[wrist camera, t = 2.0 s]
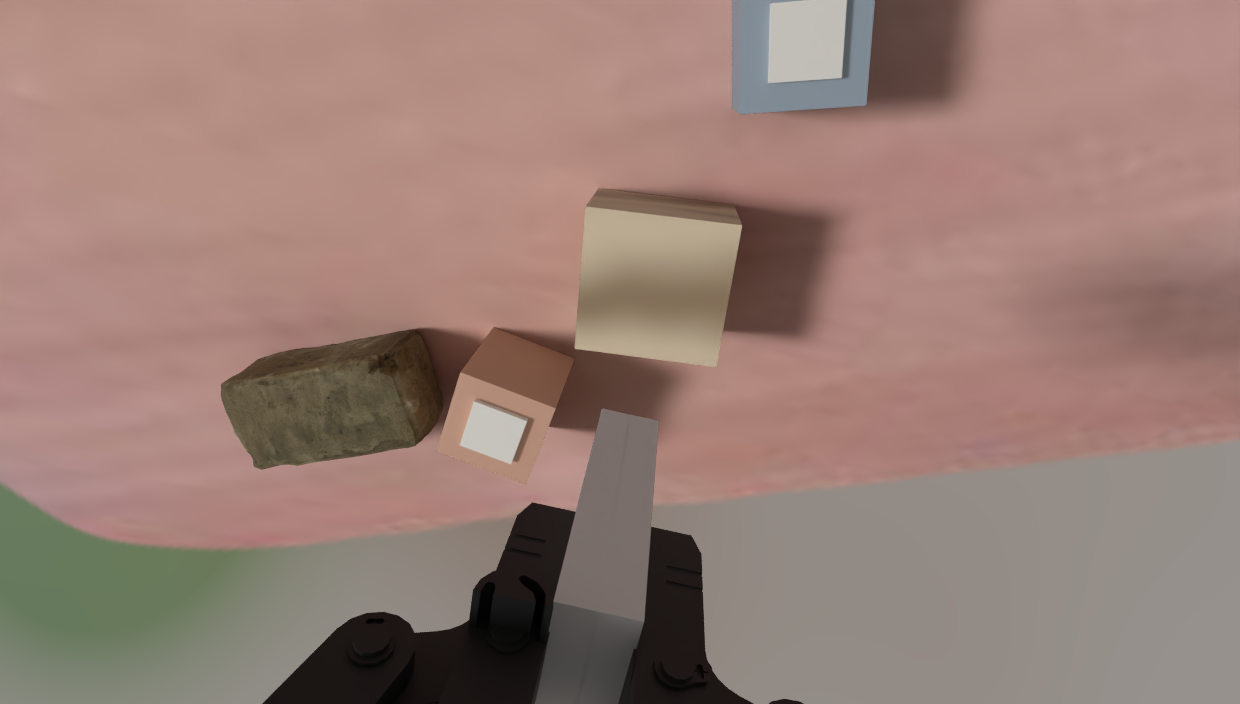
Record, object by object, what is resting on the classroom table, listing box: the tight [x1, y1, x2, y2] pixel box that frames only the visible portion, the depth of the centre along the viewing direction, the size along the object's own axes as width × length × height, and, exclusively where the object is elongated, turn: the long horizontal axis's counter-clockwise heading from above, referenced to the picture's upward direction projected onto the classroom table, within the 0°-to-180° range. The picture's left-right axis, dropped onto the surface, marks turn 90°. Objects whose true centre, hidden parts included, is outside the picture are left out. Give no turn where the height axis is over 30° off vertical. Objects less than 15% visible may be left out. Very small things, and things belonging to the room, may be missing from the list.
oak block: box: [575, 188, 742, 367], centre depth 32 cm, size 7×7×5 cm
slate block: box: [732, 0, 875, 114], centre depth 27 cm, size 5×5×5 cm
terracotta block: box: [436, 327, 575, 484], centre depth 34 cm, size 5×5×6 cm
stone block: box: [221, 329, 443, 469], centre depth 36 cm, size 6×12×5 cm, turn 103°
